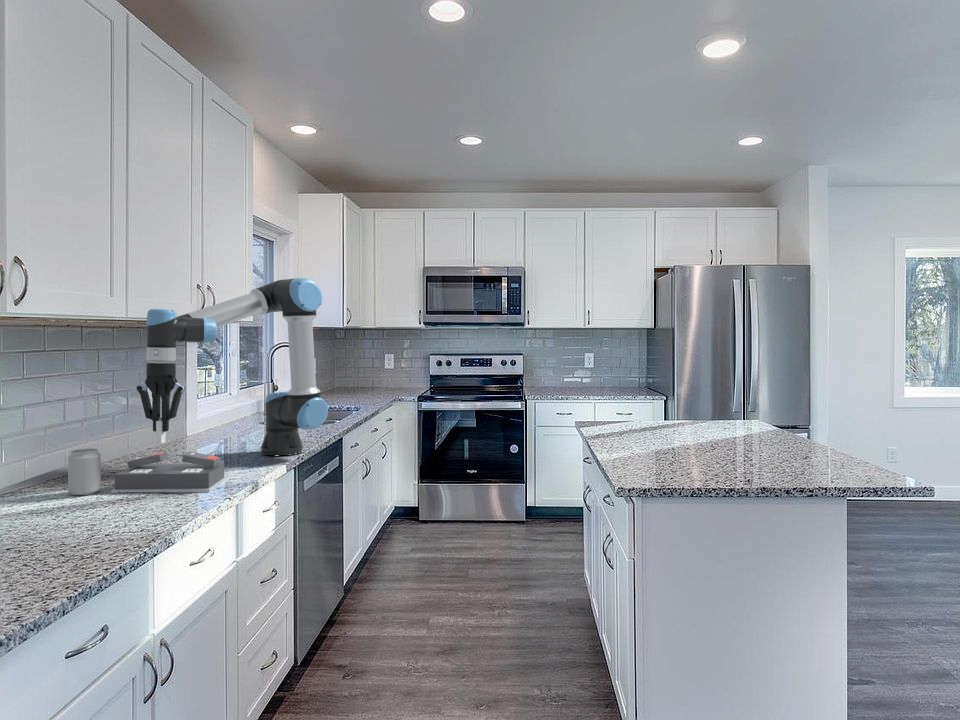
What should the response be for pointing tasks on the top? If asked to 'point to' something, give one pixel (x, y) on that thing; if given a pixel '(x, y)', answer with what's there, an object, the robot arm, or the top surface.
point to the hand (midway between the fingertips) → (160, 442)
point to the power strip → (169, 478)
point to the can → (84, 472)
